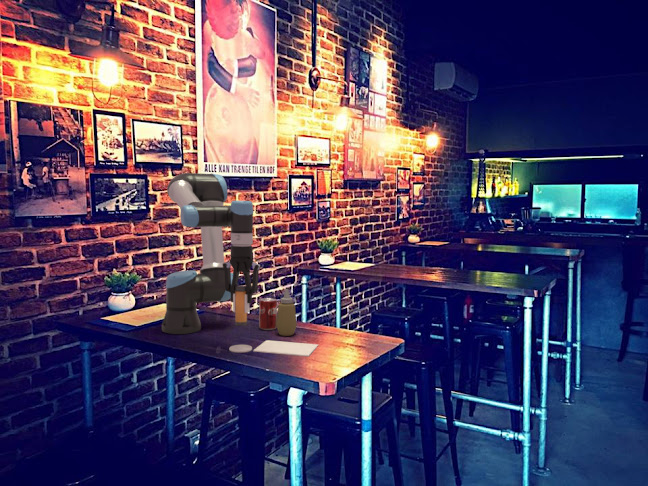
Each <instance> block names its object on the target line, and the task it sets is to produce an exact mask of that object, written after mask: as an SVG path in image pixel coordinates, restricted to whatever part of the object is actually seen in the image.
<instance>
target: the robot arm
mask: <svg viewBox="0 0 648 486" xmlns="http://www.w3.org/2000/svg"><path fill="white" fill-rule="evenodd" d="M166 188H167V195H168V197H169V198H170V200H171V201H172V202H174V203H176V204H177V205H178V207H179V209H180V222H181V225H182V226H183V227H185V228H186V227H189V228H200V235H201V236H200V237H201V249H202V251H201V252H202V264H203V265H202V266H201V268H200V269H199V273H198V272H197V271H196V270H193V269H192V270H191V269H190V270H180V271H175V272H172V273H170V274H168V275H167V277H166V279H165V280H166V283H165V289H166V290H165V292H166V295H165V296H166V297H165V298H166V302H165V303H166V304H165V308H166V309H165V315H164V317H163V320H162V323H161V331H162V332H163V333H165V334H170V335H184V334H185V335H186V334H192V333H197V332H199V331H201V330H202V323H201V320H200V318H199V314H198V312H197V304H198V303H199V304H200V303H214V302H215V303H216V302H218V303H219V302H225V301H229V300H230V302H231V303H232V312H233V313H235V308H236V291H235V286H238V283H239V276H240V273H242V275H243V279H244V283H245V285H244V286H246V291H247V293H246V294H245V313H247V314H248V313H249V312H250V304H251V303H252V302H253V294H254V293H257V292H258V286H259V273H260V268H261V264H260V263H256V262H254V258H253V254H254V253H253V252H254V251H253V246H252V245H253V244H254V242H253V241H254V240H253V239H254V237H253V235H254V232H253V229H254V224H253V223H254V206H253V202H252V201H251V200H232V201H231V202H230V205H224V202H226V201H227V200H228V186H227V182H226V180H225V178H224V177H223V176H222V175H221V174H216V173H199V172H198V173H193V172H191V173H190V172H186V173H185V172H183V173H180V174H178V175H175V176H174V177H172V179H171V180H170V181H169V182H168V185H167V187H166ZM222 227H223V228H225V227H226V228H228V227H230V244H231V246H230V259H229V261H227V262H225V255H224V243H223V242H224V239H223V228H222ZM231 267H232V269H233V270H232V272H231ZM251 268H252V269H253V270H252V279H251V271H250V270H251Z"/></svg>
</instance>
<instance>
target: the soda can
mask: <svg viewBox="0 0 648 486" xmlns="http://www.w3.org/2000/svg"><path fill="white" fill-rule="evenodd" d="M258 305H259V306H258V307H259V308H258V309H259V311H258V315H259V318H258V328H259V329H261V331H273V330H277V326H276V322H277V313H278V300H277V299H276V298H272V297H265V298H260V300H259V303H258Z"/></svg>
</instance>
